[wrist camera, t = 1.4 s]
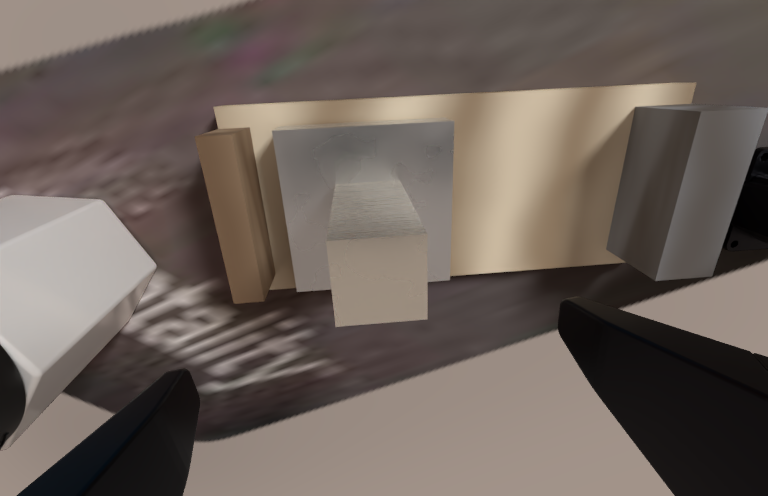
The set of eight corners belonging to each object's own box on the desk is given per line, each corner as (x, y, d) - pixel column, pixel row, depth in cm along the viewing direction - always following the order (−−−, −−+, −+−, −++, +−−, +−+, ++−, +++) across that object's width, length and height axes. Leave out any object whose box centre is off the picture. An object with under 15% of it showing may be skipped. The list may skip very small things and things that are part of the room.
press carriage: (444, 117, 19) (518, 142, 10) (441, 263, 22) (496, 372, 14) (279, 126, 18) (220, 159, 10) (301, 274, 21) (269, 393, 13)
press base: (673, 82, 21) (777, 82, 16) (633, 250, 25) (706, 293, 20) (223, 105, 19) (178, 112, 14) (258, 279, 23) (232, 332, 18)
